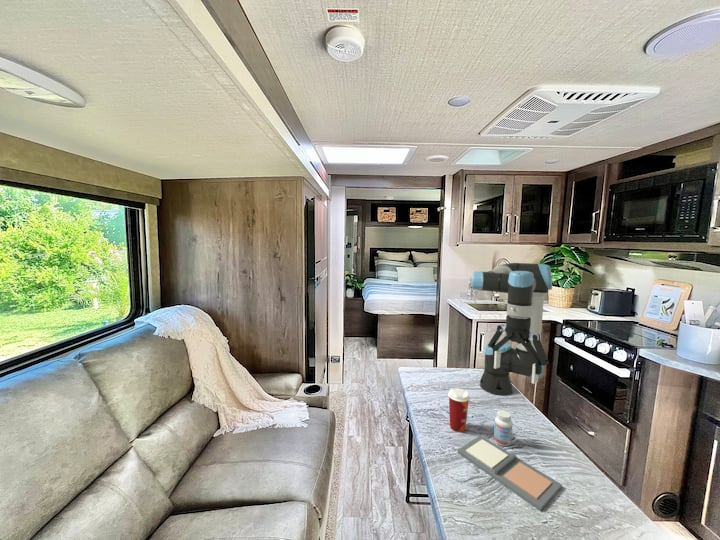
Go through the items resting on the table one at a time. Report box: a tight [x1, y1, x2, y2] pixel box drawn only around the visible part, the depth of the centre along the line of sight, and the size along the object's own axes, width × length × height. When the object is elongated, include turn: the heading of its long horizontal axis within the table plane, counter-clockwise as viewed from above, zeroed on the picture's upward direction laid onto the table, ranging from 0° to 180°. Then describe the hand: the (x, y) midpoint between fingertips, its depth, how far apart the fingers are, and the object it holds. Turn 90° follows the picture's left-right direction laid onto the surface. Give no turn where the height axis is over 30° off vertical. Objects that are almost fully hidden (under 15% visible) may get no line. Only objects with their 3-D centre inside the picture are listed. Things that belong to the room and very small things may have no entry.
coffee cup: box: [447, 387, 471, 433], centre depth 120 cm, size 8×8×15 cm
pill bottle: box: [493, 409, 513, 447], centre depth 112 cm, size 6×6×11 cm
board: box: [457, 435, 563, 512], centre depth 100 cm, size 14×28×2 cm, turn 35°
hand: (514, 374), depth 105 cm, fingers open, 13 cm apart
